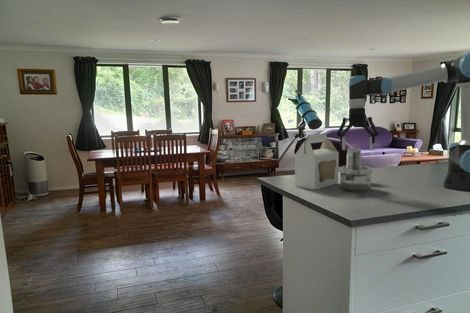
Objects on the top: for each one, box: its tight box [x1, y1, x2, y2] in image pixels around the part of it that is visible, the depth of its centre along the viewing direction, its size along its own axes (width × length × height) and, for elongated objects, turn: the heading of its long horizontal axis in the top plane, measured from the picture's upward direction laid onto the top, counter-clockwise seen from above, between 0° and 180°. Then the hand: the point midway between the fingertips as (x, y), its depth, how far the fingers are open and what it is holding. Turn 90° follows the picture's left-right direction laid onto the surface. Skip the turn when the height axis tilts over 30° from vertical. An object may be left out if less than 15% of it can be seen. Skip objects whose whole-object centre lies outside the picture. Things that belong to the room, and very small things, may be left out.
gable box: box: [294, 132, 340, 191], centre depth 187 cm, size 22×13×28 cm, turn 131°
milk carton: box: [346, 147, 363, 166], centre depth 194 cm, size 7×7×19 cm
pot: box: [338, 165, 374, 193], centre depth 173 cm, size 16×22×11 cm
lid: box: [347, 151, 366, 170], centre depth 175 cm, size 10×10×10 cm
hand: (357, 149), depth 174 cm, fingers open, 13 cm apart
